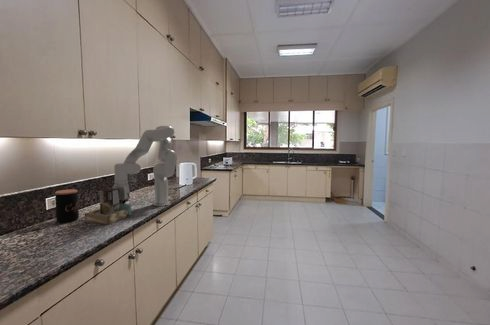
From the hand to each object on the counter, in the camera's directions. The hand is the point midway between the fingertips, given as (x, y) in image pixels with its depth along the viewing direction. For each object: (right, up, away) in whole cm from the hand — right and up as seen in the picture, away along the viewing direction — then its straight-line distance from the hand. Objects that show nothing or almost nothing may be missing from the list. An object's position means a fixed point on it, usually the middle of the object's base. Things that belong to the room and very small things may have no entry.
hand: (121, 209), depth 154 cm
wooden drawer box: (-3, -4, -12) cm, 13 cm away
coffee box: (-2, -2, -10) cm, 10 cm away
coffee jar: (-24, -4, -15) cm, 29 cm away
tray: (-2, -3, -8) cm, 9 cm away
